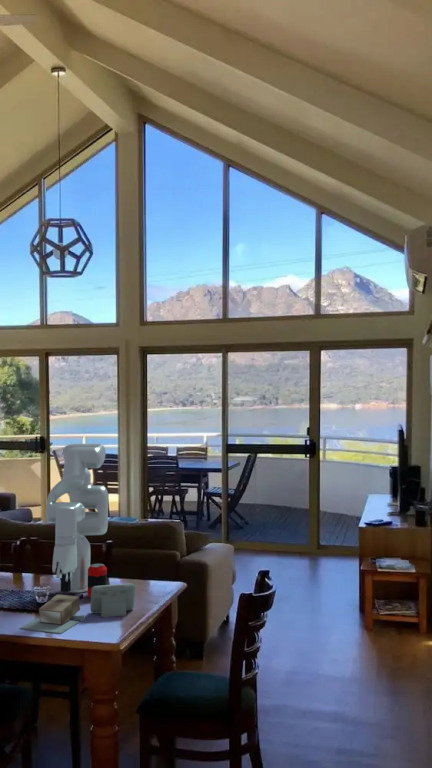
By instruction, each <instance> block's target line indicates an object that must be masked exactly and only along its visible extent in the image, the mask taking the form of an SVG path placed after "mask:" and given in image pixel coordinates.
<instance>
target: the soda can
mask: <svg viewBox="0 0 432 768" xmlns="http://www.w3.org/2000/svg"><path fill="white" fill-rule="evenodd" d="M103 585H108V567H106V565H105V564H103V563H92V564H90V567H89V568H88V591H87V597H89V598H90V599H91V589H92V587H94V586H103Z"/></svg>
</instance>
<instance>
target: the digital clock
mask: <svg viewBox="0 0 432 768" xmlns="http://www.w3.org/2000/svg"><path fill="white" fill-rule="evenodd" d="M135 592H136V585H135V583H119V584H107V585H103V586H94V587H92V589H91V598H90V612H91V613H92V614H100V616H101V618H108V617H121V616H127V611H133V609H134V608H135Z"/></svg>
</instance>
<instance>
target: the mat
mask: <svg viewBox="0 0 432 768" xmlns="http://www.w3.org/2000/svg"><path fill="white" fill-rule="evenodd" d="M79 623H80V621H79V620H71V619H69V620H68V621H67V622H66V623H64V624H63V625H56V624H48V623H40V618H39V617H37V618H35V619H33V620H31V621H29V622H27V623H26V624H24V625H22V626H21V627H19V630H25V631H34V632H41V633H50V634H59V635H62V634H63V633H65V632H66V631H68V630H70V629H72V628H73V627H75V626H77V625H78V624H79Z"/></svg>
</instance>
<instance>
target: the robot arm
mask: <svg viewBox="0 0 432 768" xmlns="http://www.w3.org/2000/svg"><path fill="white" fill-rule="evenodd" d="M63 458H64V465H63V470H62V479H61V480H59V481H58V482H57V483H56V484H55V485H54V486H53V487H52V488H51V490H50V491H49V493H48V495H47V499H46V500H47V501H46V507H45V518H46V520H47V521H48V522H49V523H52V524H54V523H55V530H54V531H55V540H54V548H53V556H52V571H51V572H52V573H53V574H56V576H55V578H57V579H59V581H60V592H62V593H74V594H77V593H85V592H88V568H89V567H90V565H91V543H90V541H88V539H87V538H86V536H102V535H103V536H104V535H105V534H106V533H107V532H108V527H109V526H108V525H109V492H108V489H107V488H106V487H105V486H103V485H92V484H91V482H92V481H91V480H92V476H91V474H92V473H91V472H90V470H89V469H98V468H101V467H102V465H103V464H104V462H105V459H106V448H105V446H104V444H102V443H70V444H67V445H65V446H64V447H63ZM68 493H69V501H67V502H66V501H58V499H60V498H61V497H62V496H64V495H66V494H68ZM86 509H88V510H89V509H91V510H92V509H94V510H96V511H86Z"/></svg>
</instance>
